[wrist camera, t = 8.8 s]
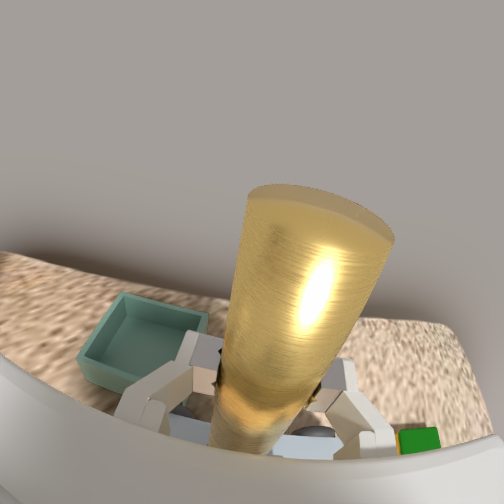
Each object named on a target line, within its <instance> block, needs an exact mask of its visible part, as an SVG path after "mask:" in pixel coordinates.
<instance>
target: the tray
mask: <svg viewBox="0 0 504 504" xmlns="http://www.w3.org/2000/svg"><path fill="white" fill-rule="evenodd" d="M208 318H209V313H205V312H200V311H196V310H192V309H187V308H183V307H179V306H175V305H171V304H167V303H163V302H159V301H155V300H151V299H148V298H144V297H140V296H137V295H133V294H129V293H126V292H122V291H121V293H120V294H119V295H118V297H117V298H116V300H115V301H114V302H113V304H112V305H111V307H110V308H109V309H108V311H107V312H106V314H105V315H104V317H103V318H102V319H101V321H100V322H99V324H98V325H97V327H96V328H95V330H94V331H93V333H92V334H91V336H90V337H89V339H88V340H87V342H86V343H85V345H84V346H83V348H82V349H81V351H80V352H79V354H78V356H77V357H76V360H77V362H78V364H79V366H80V368H81V370H82V372H83V374H84V376H85V378H86V380H87V381H89V382H91V383H94V384H96V385H98V386H101V387H103V388H105V389H108V390H110V391H113V392H115V393H118V394H121V395H123V393H124V391H125V389H126V388H128V387H129V386H131V385H132V384H134V383H136V382H137V381H139V380H141V379H142V378H144V377H145V376H147V375H149V374H150V373H152V372H154V371H155V370H157V369H158V368H160V367H161V366H163V365H165V364H166V363H168V362H169V361H171V360H172V361H175V359H176V357H177V354H178V352H179V349H180V346H181V344H182V341H183V339H184V336H185V334H186V332H187V331H188V330H191V331H195V332H199V333H203V334H207V330H208ZM188 397H189V396H188ZM188 397H187V398H185V399H184V400H183V401H182V402H181V403H179V404H181V405H183V406H185V407H186V403H187V400H188Z"/></svg>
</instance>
